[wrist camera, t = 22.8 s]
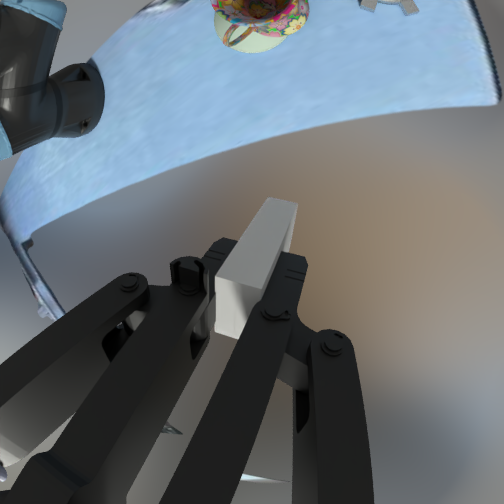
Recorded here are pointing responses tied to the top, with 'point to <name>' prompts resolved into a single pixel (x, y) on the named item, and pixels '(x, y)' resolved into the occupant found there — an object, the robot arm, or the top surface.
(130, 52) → the top surface
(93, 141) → the top surface
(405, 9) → the sprocket
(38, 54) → the robot arm
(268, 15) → the mug
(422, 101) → the top surface
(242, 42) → the pale green plate
